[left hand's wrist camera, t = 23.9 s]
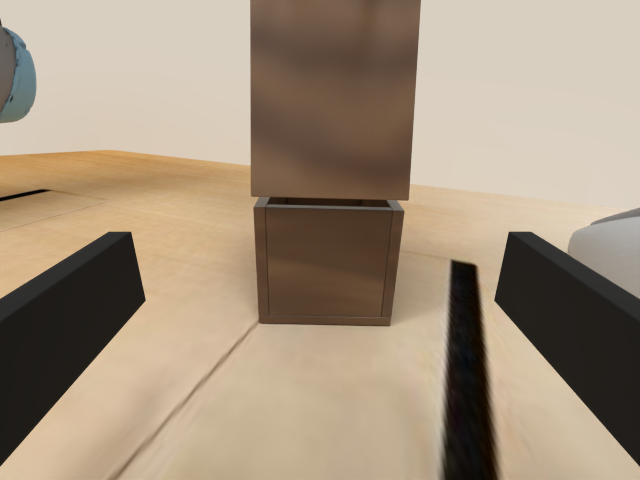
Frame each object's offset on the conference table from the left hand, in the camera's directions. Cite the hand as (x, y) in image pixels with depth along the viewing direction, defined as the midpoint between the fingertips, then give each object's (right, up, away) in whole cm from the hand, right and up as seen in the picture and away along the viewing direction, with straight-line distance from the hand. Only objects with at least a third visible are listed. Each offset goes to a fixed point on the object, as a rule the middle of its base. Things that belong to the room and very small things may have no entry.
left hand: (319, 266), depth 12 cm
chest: (0, -2, +21) cm, 21 cm away
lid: (+1, +12, +9) cm, 15 cm away
